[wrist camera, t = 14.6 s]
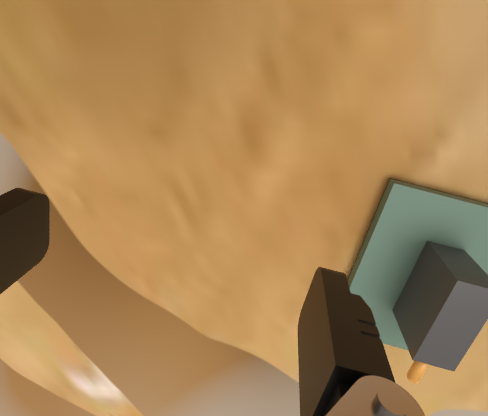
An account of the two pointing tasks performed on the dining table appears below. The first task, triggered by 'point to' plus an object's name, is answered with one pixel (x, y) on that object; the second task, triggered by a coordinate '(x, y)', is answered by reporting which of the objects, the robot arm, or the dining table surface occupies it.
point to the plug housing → (441, 308)
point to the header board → (412, 245)
